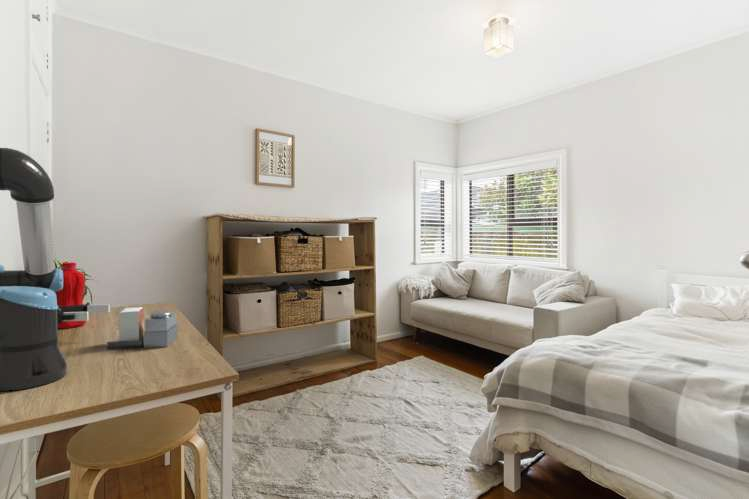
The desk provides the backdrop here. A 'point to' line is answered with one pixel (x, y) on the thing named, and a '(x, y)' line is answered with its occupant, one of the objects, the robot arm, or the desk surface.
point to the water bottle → (71, 292)
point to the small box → (131, 324)
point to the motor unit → (153, 332)
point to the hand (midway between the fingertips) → (99, 312)
